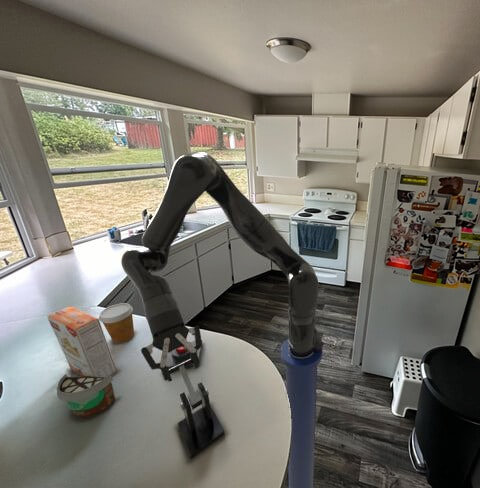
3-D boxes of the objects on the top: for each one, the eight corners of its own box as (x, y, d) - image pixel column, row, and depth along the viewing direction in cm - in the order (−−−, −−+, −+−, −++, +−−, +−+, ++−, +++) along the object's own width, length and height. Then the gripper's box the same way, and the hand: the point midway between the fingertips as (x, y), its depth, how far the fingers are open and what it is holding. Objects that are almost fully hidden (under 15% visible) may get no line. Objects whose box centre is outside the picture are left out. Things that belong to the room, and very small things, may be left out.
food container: (53, 423, 64) (39, 395, 60) (75, 400, 69) (63, 374, 66) (103, 423, 64) (92, 395, 61) (121, 400, 70) (111, 374, 66)
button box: (202, 344, 91) (201, 335, 89) (199, 365, 82) (197, 356, 81) (171, 350, 88) (169, 341, 86) (164, 373, 79) (162, 363, 78)
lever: (168, 372, 64) (167, 367, 63) (191, 361, 68) (191, 356, 67) (184, 414, 58) (184, 409, 56) (209, 399, 61) (209, 394, 60)
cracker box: (69, 370, 78) (45, 315, 71) (92, 357, 84) (72, 304, 76) (95, 387, 73) (72, 330, 66) (118, 371, 79) (99, 317, 71)
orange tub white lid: (127, 326, 98) (119, 300, 94) (145, 332, 96) (138, 305, 91) (100, 342, 90) (90, 315, 86) (119, 349, 87) (110, 321, 83)
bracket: (178, 425, 64) (169, 390, 60) (209, 405, 70) (203, 371, 65) (191, 459, 58) (181, 421, 53) (225, 434, 63) (219, 398, 58)
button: (190, 344, 86) (189, 340, 85) (188, 352, 83) (187, 348, 82) (178, 346, 85) (177, 342, 84) (176, 354, 81) (175, 350, 81)
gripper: (130, 322, 60) (151, 391, 57) (193, 300, 70) (215, 358, 66) (131, 328, 66) (151, 391, 62) (190, 307, 75) (209, 361, 72)
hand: (184, 374), depth 64 cm, fingers closed on lever, 5 cm apart
